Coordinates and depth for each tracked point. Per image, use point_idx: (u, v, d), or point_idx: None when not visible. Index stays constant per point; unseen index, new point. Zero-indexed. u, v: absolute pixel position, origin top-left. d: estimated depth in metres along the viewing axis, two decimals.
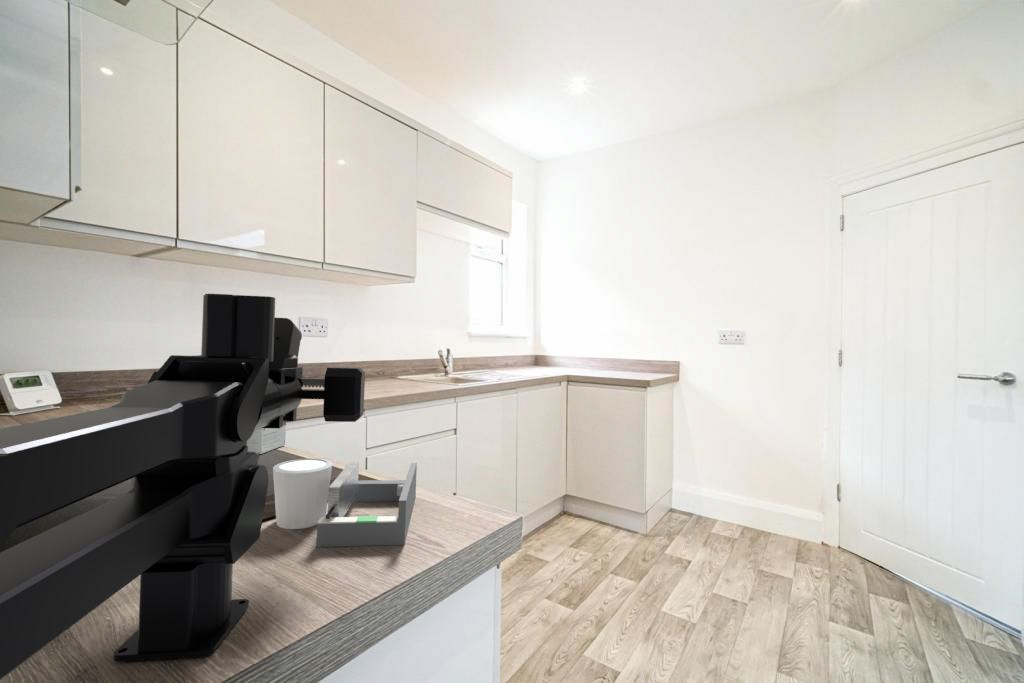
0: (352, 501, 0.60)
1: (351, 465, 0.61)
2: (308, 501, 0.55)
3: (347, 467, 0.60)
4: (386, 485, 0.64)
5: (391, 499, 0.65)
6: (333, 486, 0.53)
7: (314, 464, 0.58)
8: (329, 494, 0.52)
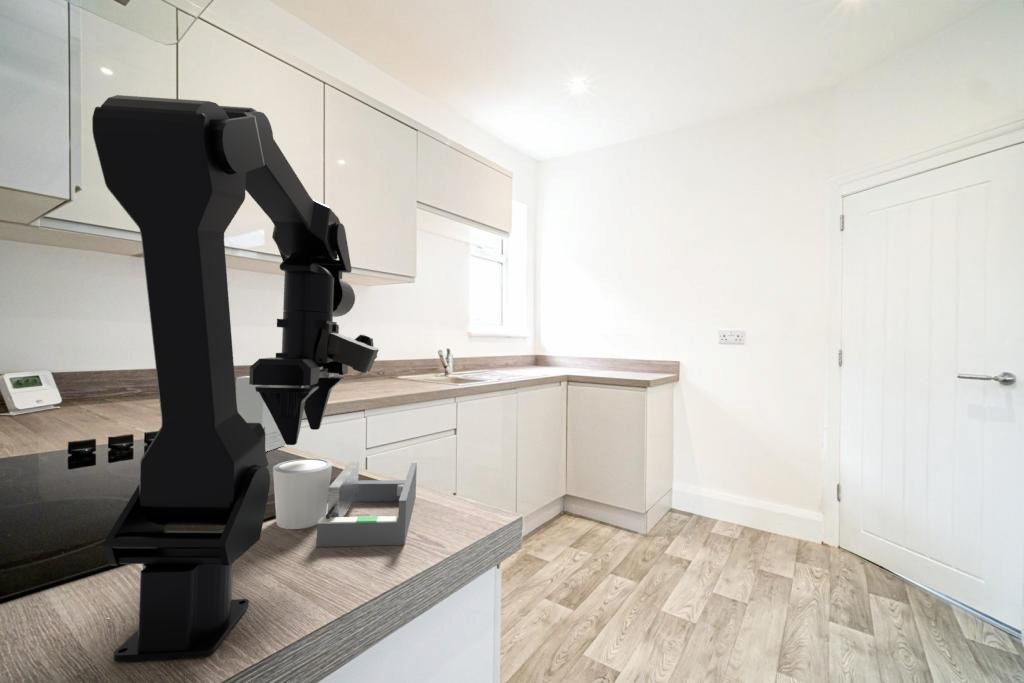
0: (352, 501, 0.60)
1: (351, 465, 0.61)
2: (308, 501, 0.55)
3: (347, 467, 0.60)
4: (386, 485, 0.64)
5: (391, 499, 0.65)
6: (333, 486, 0.53)
7: (314, 464, 0.58)
8: (329, 494, 0.52)
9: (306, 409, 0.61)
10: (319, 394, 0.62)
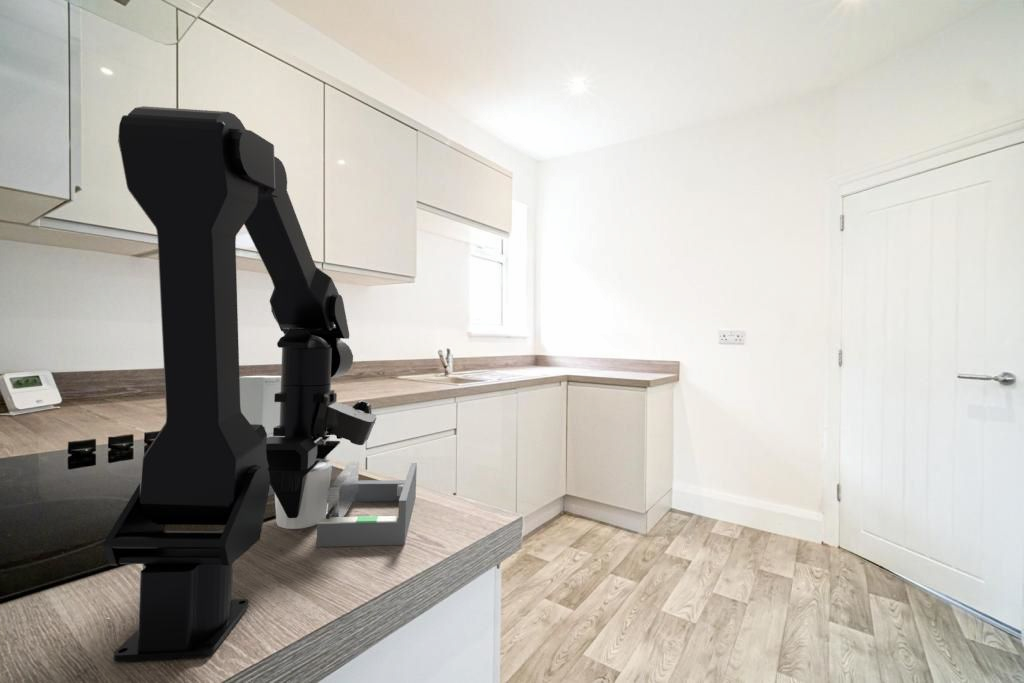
0: (352, 501, 0.60)
1: (351, 465, 0.61)
2: (308, 501, 0.55)
3: (347, 467, 0.60)
4: (386, 485, 0.64)
5: (391, 499, 0.65)
6: (333, 486, 0.53)
7: None
8: (329, 494, 0.52)
9: None
10: None
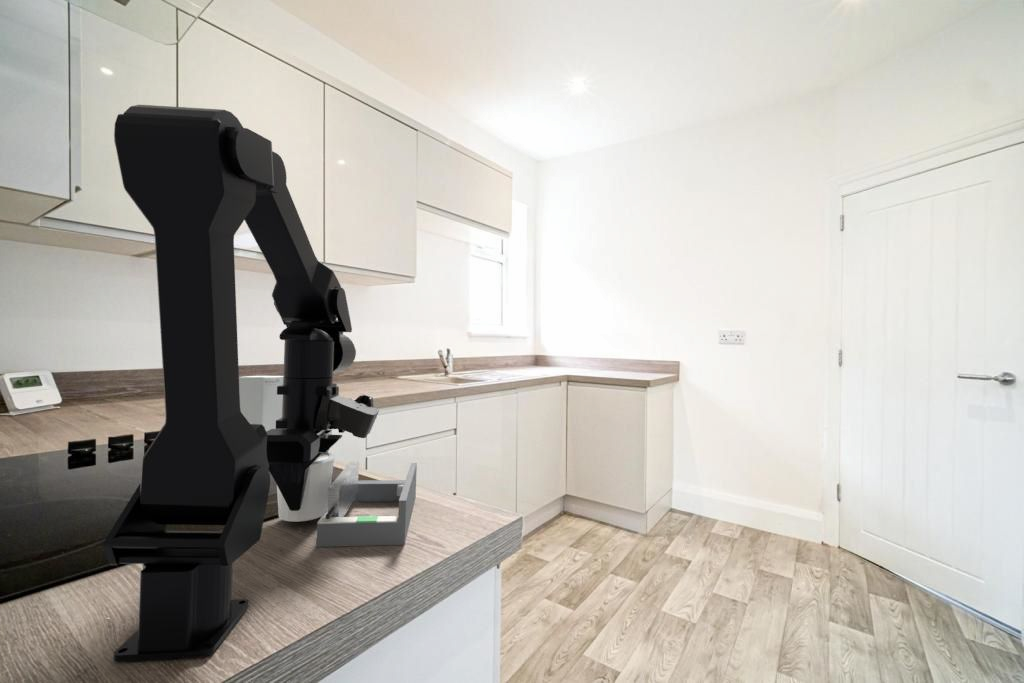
0: (352, 501, 0.60)
1: (351, 465, 0.61)
2: (310, 493, 0.55)
3: (347, 467, 0.60)
4: (386, 485, 0.64)
5: (391, 499, 0.65)
6: (333, 486, 0.53)
7: None
8: (329, 494, 0.52)
9: None
10: None
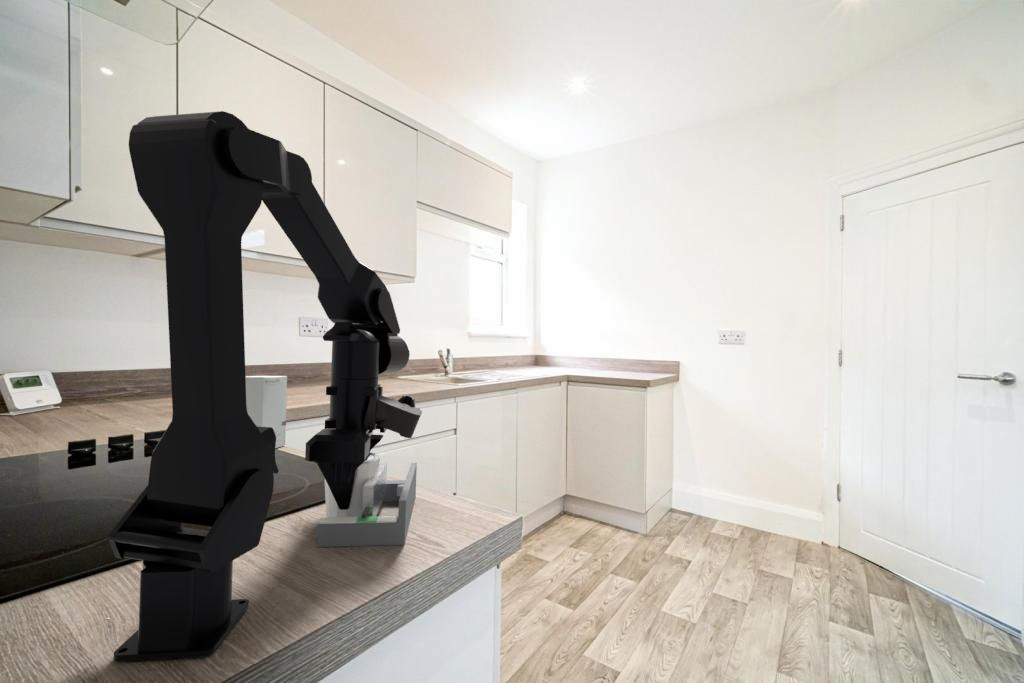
0: None
1: (380, 465, 0.62)
2: (358, 493, 0.55)
3: None
4: (386, 485, 0.64)
5: (391, 499, 0.65)
6: (367, 486, 0.53)
7: None
8: (364, 494, 0.53)
9: None
10: None
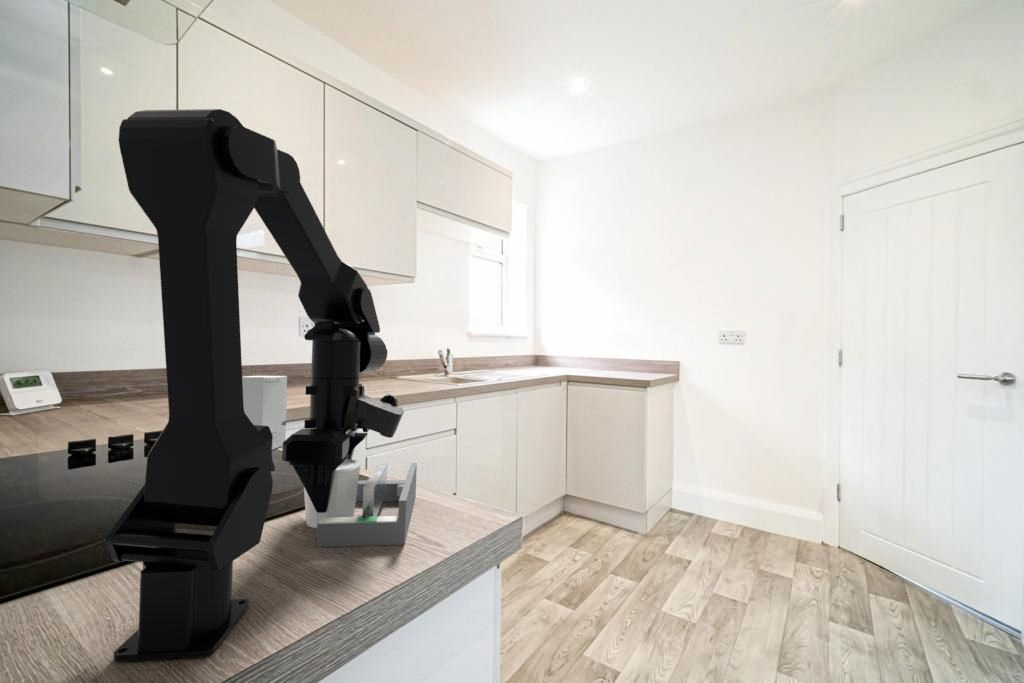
0: (382, 501, 0.60)
1: (380, 465, 0.62)
2: (338, 501, 0.55)
3: (377, 467, 0.61)
4: None
5: (391, 499, 0.65)
6: (368, 486, 0.53)
7: (342, 464, 0.58)
8: (364, 494, 0.53)
9: None
10: None
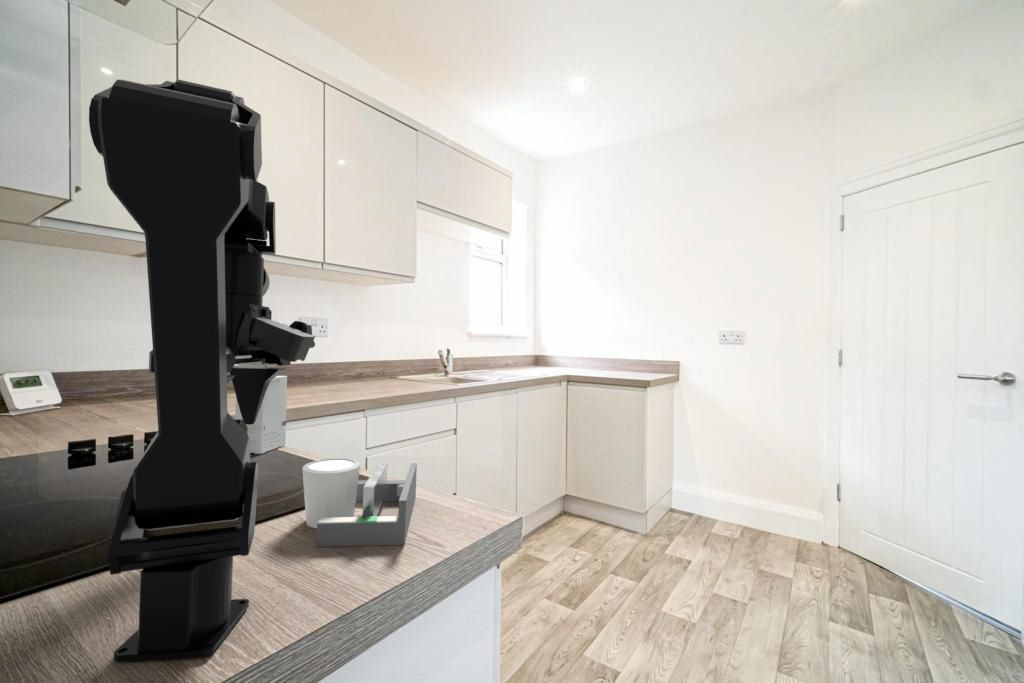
0: (382, 501, 0.60)
1: (380, 465, 0.62)
2: (338, 501, 0.55)
3: (377, 467, 0.61)
4: None
5: (391, 499, 0.65)
6: (368, 486, 0.53)
7: (342, 464, 0.58)
8: (364, 494, 0.53)
9: (240, 402, 0.56)
10: (254, 386, 0.57)
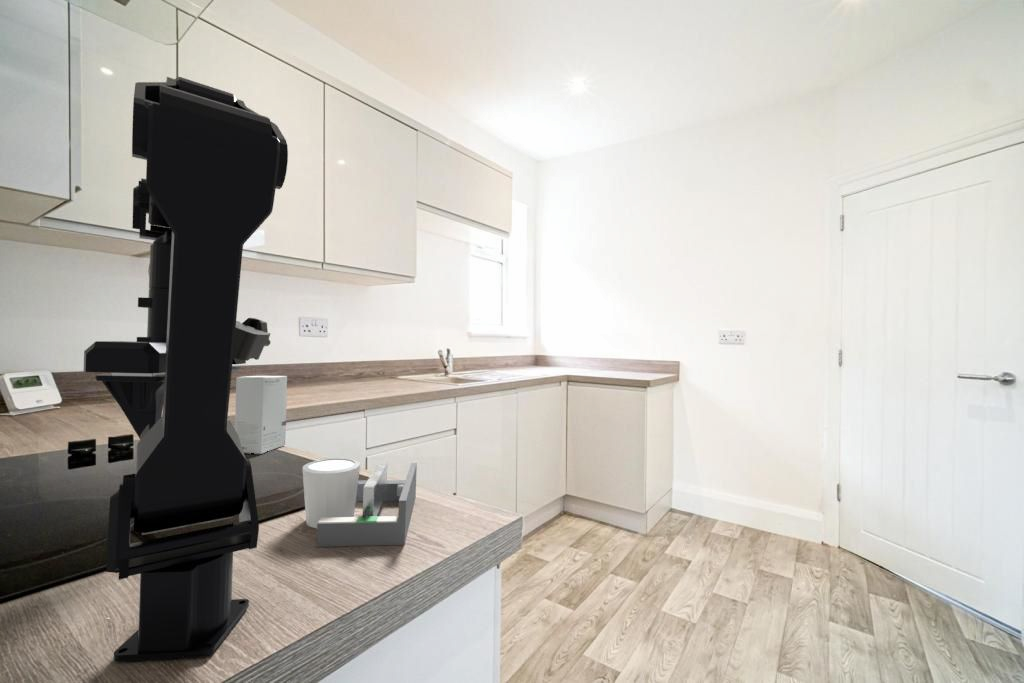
0: (382, 501, 0.60)
1: (380, 465, 0.62)
2: (338, 501, 0.55)
3: (377, 467, 0.61)
4: None
5: (391, 499, 0.65)
6: (368, 486, 0.53)
7: (342, 464, 0.58)
8: (364, 494, 0.53)
9: None
10: None
